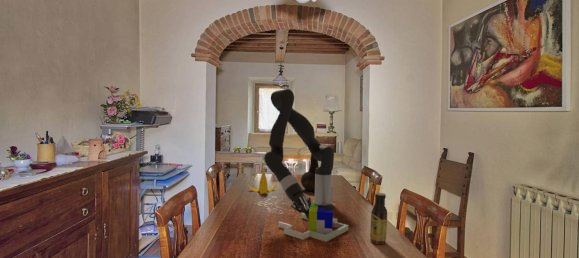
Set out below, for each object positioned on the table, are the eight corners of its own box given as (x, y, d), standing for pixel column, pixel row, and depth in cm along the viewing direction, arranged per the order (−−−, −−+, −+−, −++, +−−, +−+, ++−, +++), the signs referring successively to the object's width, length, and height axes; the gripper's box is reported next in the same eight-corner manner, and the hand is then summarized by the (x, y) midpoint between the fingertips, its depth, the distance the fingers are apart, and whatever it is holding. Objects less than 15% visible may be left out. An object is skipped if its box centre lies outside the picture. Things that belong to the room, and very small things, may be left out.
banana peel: (265, 196, 198) (265, 169, 197) (247, 190, 212) (247, 165, 211) (285, 192, 209) (285, 167, 209) (266, 187, 223) (267, 163, 223)
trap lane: (271, 229, 141) (271, 224, 141) (307, 215, 162) (308, 211, 162) (319, 245, 125) (319, 239, 125) (353, 227, 146) (353, 222, 146)
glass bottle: (329, 188, 224) (330, 148, 222) (323, 194, 207) (324, 150, 206) (304, 186, 229) (305, 146, 228) (297, 191, 213) (298, 149, 211)
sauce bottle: (367, 239, 132) (369, 191, 132) (382, 239, 133) (384, 191, 132) (373, 245, 126) (375, 195, 125) (388, 245, 126) (390, 195, 126)
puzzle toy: (332, 236, 134) (332, 213, 134) (308, 234, 136) (308, 211, 136) (332, 228, 144) (333, 206, 144) (310, 226, 146) (310, 204, 145)
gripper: (286, 184, 144) (307, 217, 137) (304, 180, 154) (324, 211, 147) (277, 194, 148) (297, 226, 141) (295, 189, 158) (314, 219, 151)
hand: (311, 218), depth 144 cm, fingers closed
